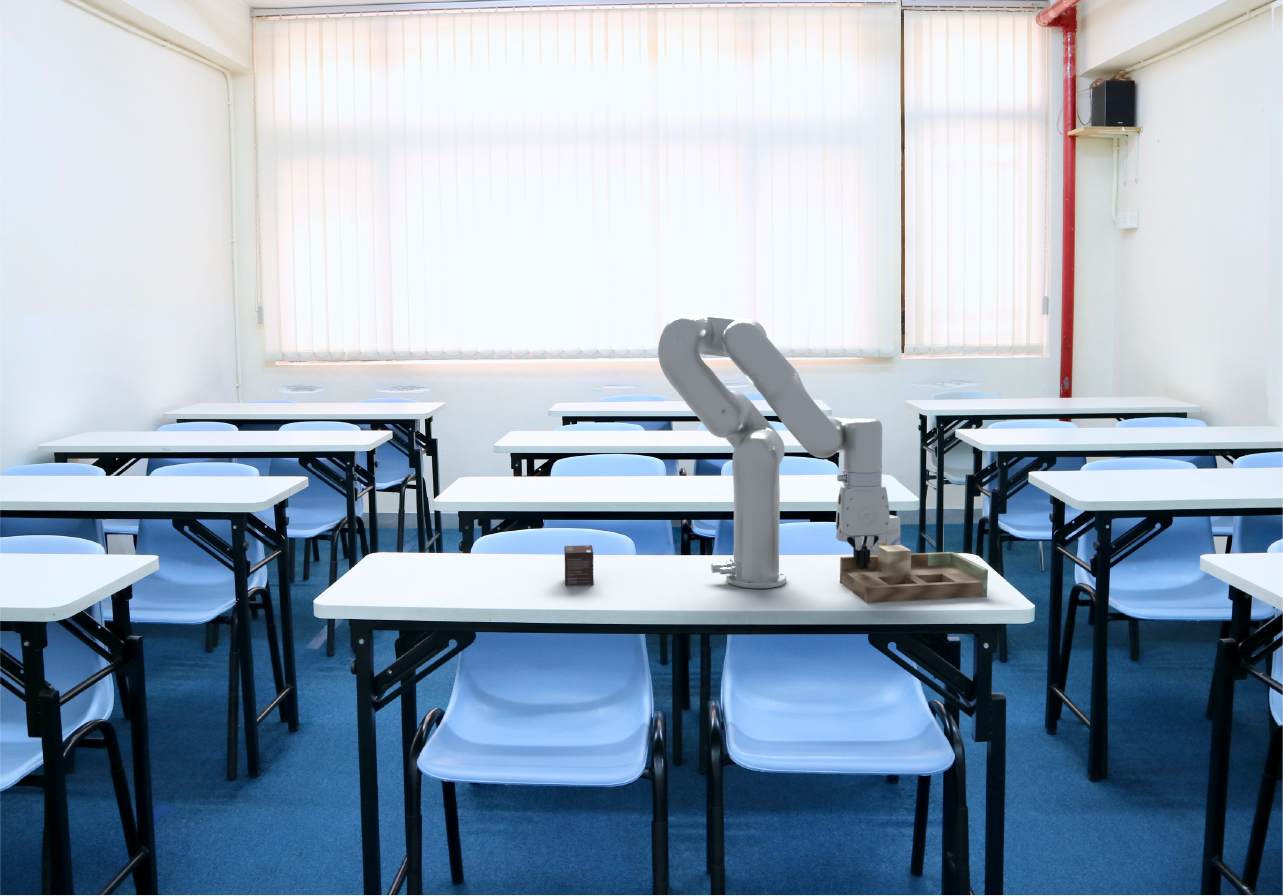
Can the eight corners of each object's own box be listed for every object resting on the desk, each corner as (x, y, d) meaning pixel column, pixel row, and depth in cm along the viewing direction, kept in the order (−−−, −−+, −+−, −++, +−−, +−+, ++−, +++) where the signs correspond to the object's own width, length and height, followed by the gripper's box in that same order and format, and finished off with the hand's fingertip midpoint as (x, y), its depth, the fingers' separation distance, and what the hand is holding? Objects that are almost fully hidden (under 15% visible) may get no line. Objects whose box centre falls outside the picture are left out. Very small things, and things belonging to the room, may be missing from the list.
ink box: (901, 569, 214) (903, 516, 212) (885, 572, 211) (887, 519, 210) (872, 561, 221) (873, 510, 220) (856, 564, 218) (857, 513, 217)
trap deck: (866, 603, 189) (867, 575, 188) (839, 582, 204) (840, 557, 203) (986, 596, 192) (988, 569, 192) (952, 577, 207) (952, 551, 206)
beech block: (887, 575, 197) (887, 551, 197) (877, 569, 202) (878, 545, 202) (910, 574, 198) (911, 550, 198) (900, 568, 203) (901, 544, 202)
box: (564, 579, 208) (564, 545, 207) (592, 578, 209) (592, 544, 208) (565, 586, 202) (564, 552, 201) (593, 585, 203) (593, 551, 202)
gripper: (833, 484, 192) (832, 574, 194) (905, 480, 194) (903, 570, 196) (821, 478, 199) (820, 565, 202) (890, 475, 201) (889, 561, 204)
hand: (861, 567), depth 199 cm, fingers closed
